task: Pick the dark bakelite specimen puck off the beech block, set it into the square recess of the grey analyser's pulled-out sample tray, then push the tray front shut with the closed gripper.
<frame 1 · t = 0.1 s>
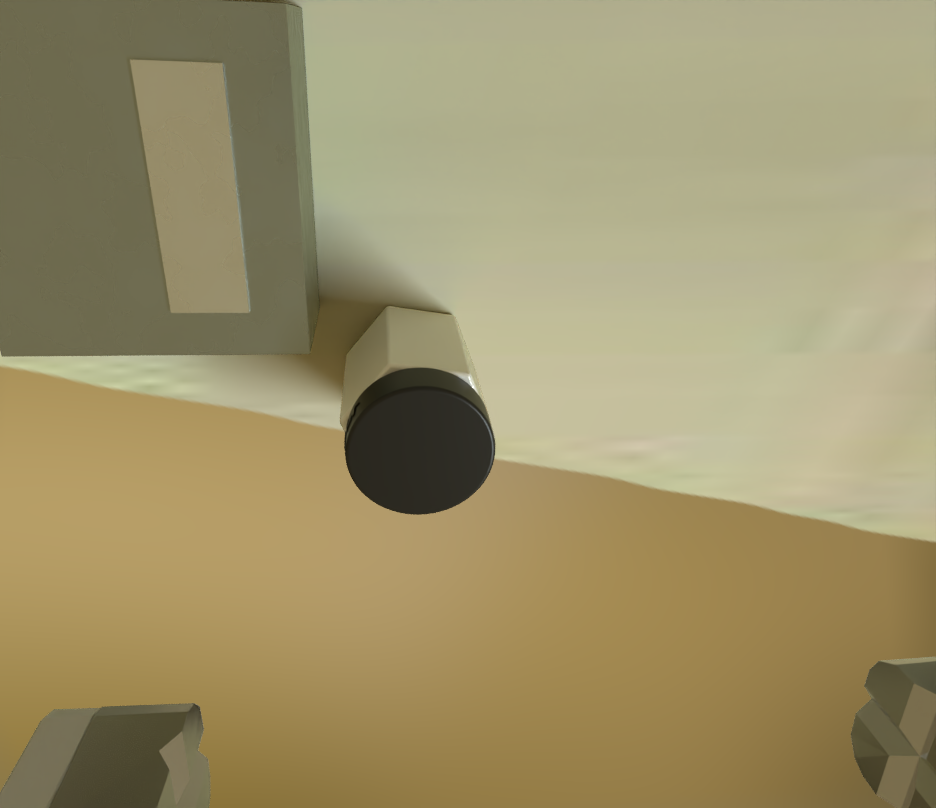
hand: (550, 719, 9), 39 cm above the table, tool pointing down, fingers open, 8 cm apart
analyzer: (171, 168, 41), on the table
jar: (411, 361, 49), on the table
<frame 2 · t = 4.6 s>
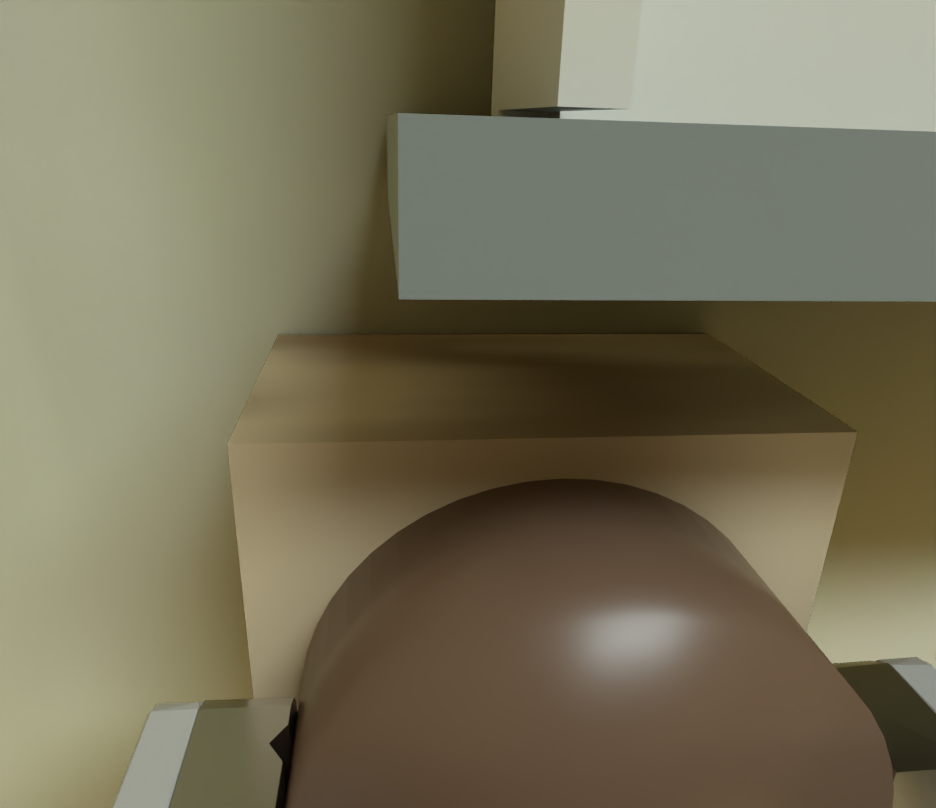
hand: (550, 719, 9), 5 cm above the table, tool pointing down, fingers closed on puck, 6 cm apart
block: (491, 522, 13), on the table
puck: (542, 687, 9), point 4 cm above the table, touching block, gripper
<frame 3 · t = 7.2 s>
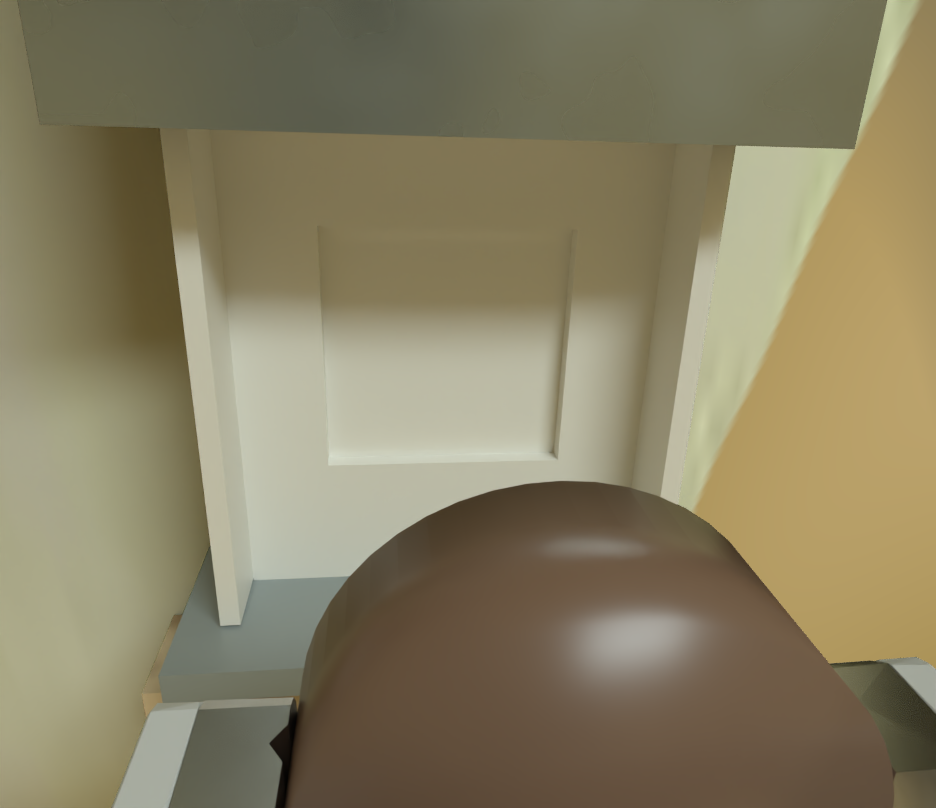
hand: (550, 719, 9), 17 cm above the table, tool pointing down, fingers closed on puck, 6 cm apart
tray: (449, 415, 21), point 4 cm above the table, slide at 14.0 cm
block: (274, 681, 29), on the table
puck: (542, 690, 9), point 16 cm above the table, touching gripper
when the fingers open (4 cm above the table, at t = 10.1 s): puck drops 1 cm, resting on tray.
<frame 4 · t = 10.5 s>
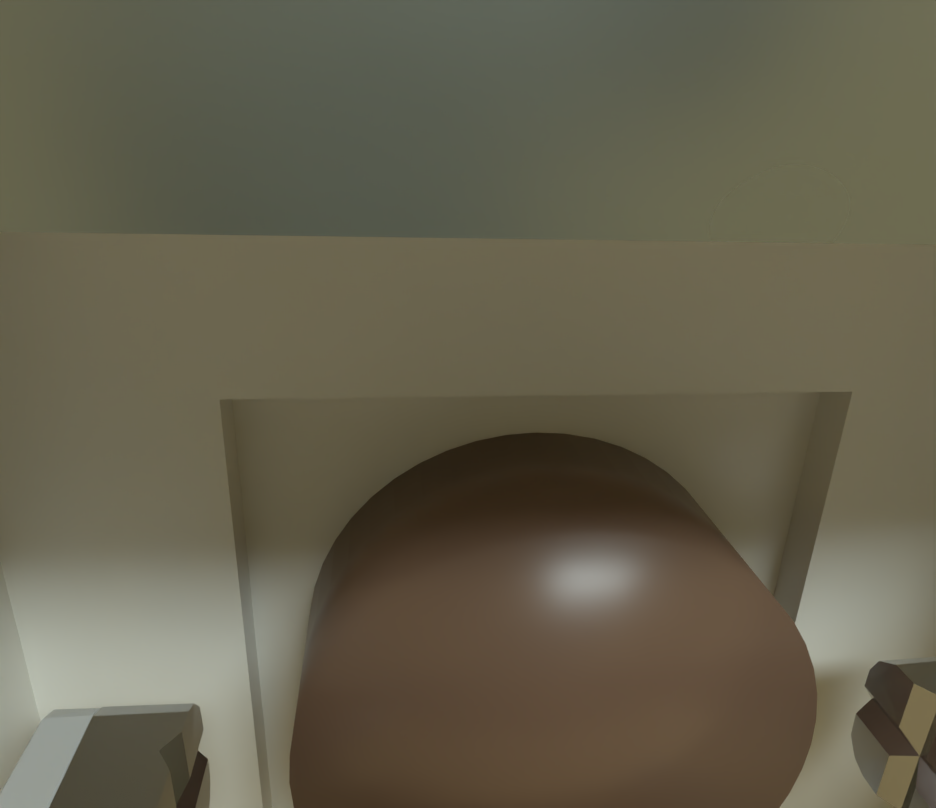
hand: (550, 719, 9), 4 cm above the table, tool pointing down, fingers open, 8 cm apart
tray: (538, 805, 9), point 4 cm above the table, slide at 14.0 cm, touching puck
puck: (522, 622, 10), point 2 cm above the table, touching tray
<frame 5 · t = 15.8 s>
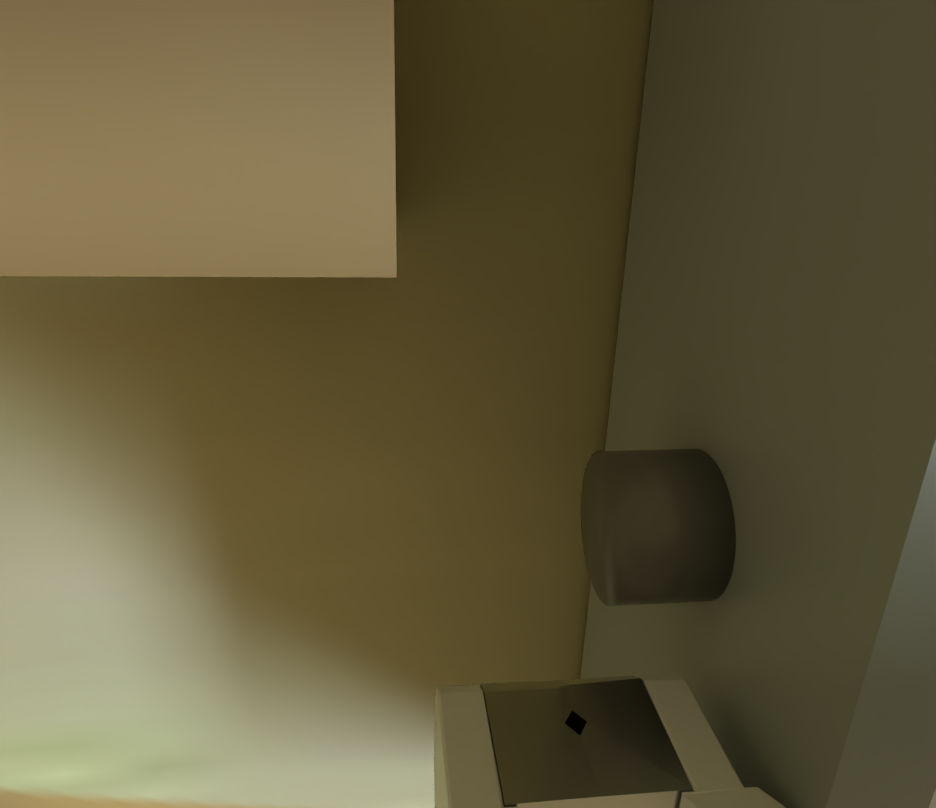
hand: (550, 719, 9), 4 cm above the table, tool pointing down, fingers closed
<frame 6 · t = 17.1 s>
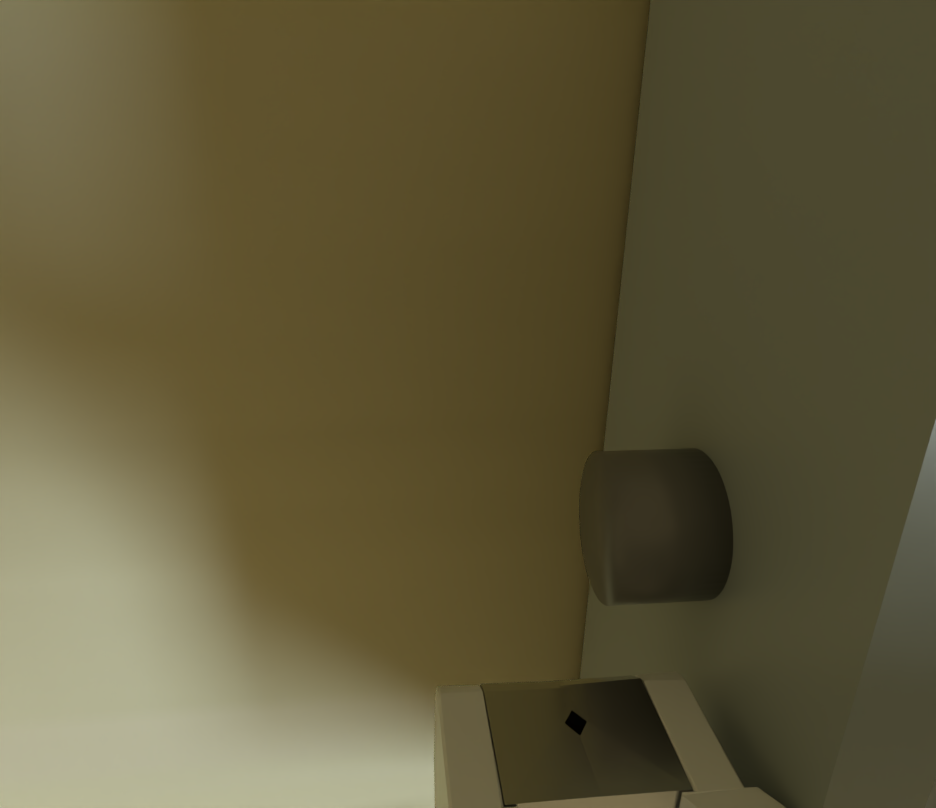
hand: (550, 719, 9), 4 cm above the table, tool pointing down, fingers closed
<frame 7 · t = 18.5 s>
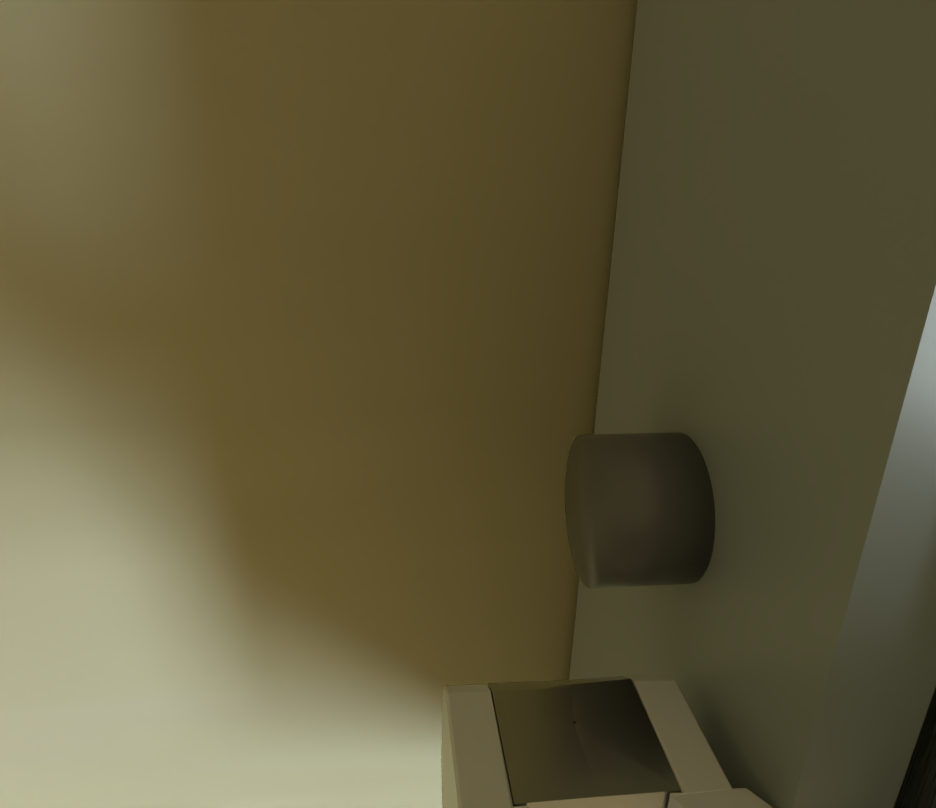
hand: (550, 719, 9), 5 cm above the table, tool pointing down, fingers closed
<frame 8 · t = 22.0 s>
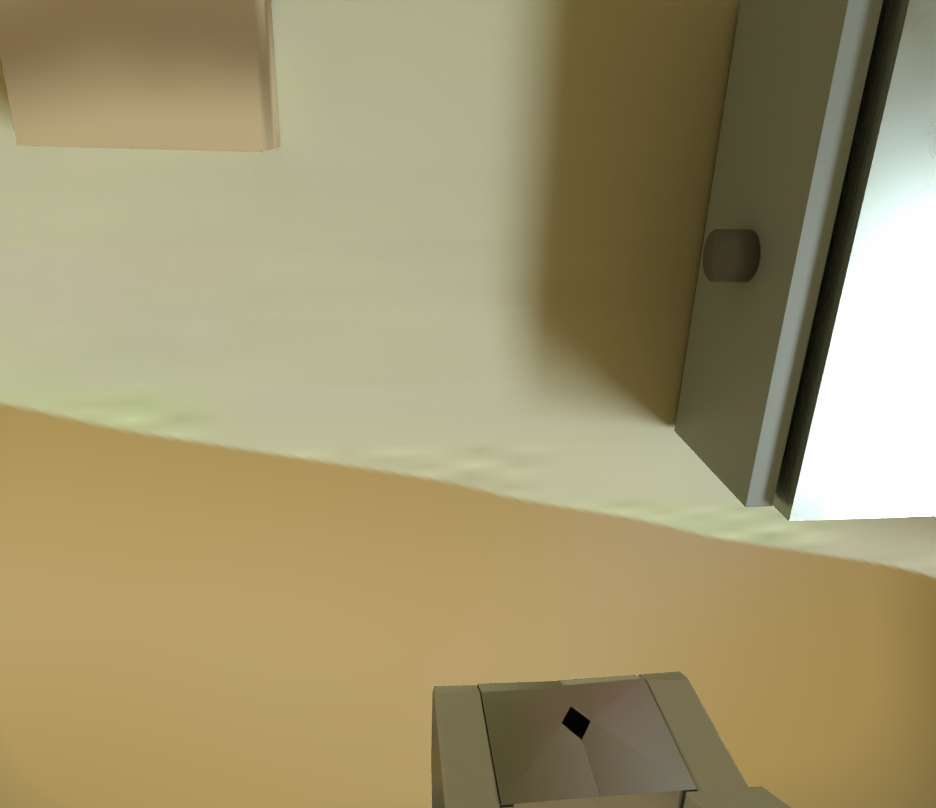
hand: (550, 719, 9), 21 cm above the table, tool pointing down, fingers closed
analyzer: (915, 241, 29), on the table
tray: (933, 256, 26), point 4 cm above the table, slide at 0.0 cm, touching puck
block: (164, 31, 24), on the table
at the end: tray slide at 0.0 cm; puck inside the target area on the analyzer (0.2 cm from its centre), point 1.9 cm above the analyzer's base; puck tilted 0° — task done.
